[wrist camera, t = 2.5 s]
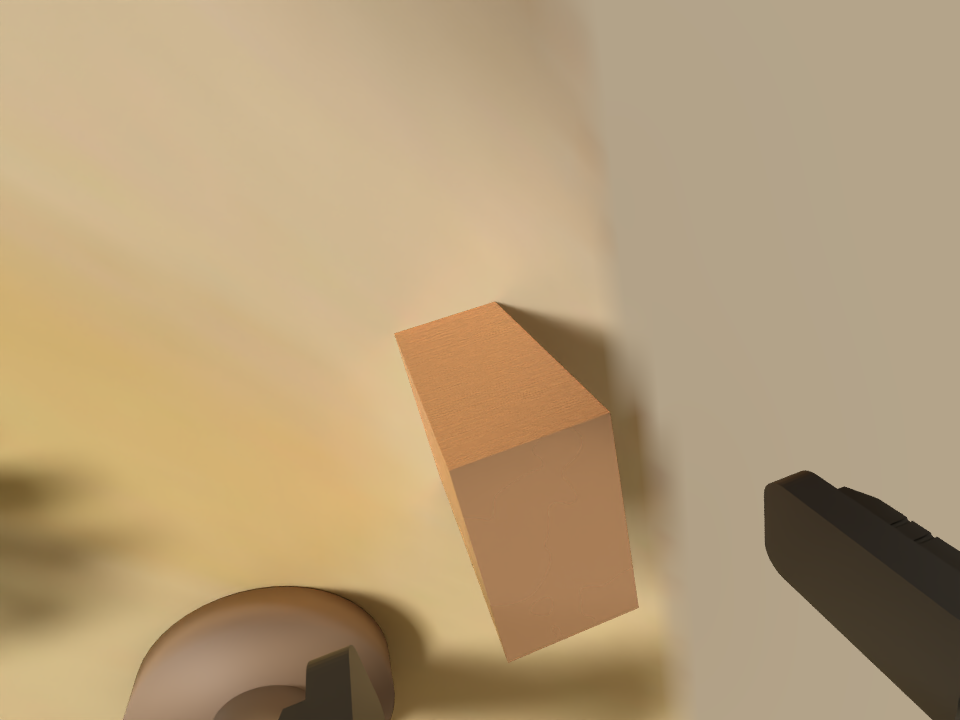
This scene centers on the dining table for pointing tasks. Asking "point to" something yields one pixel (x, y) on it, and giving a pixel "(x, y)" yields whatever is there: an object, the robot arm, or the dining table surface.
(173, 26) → the dining table surface
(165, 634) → the bobbin
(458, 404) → the copper tab
